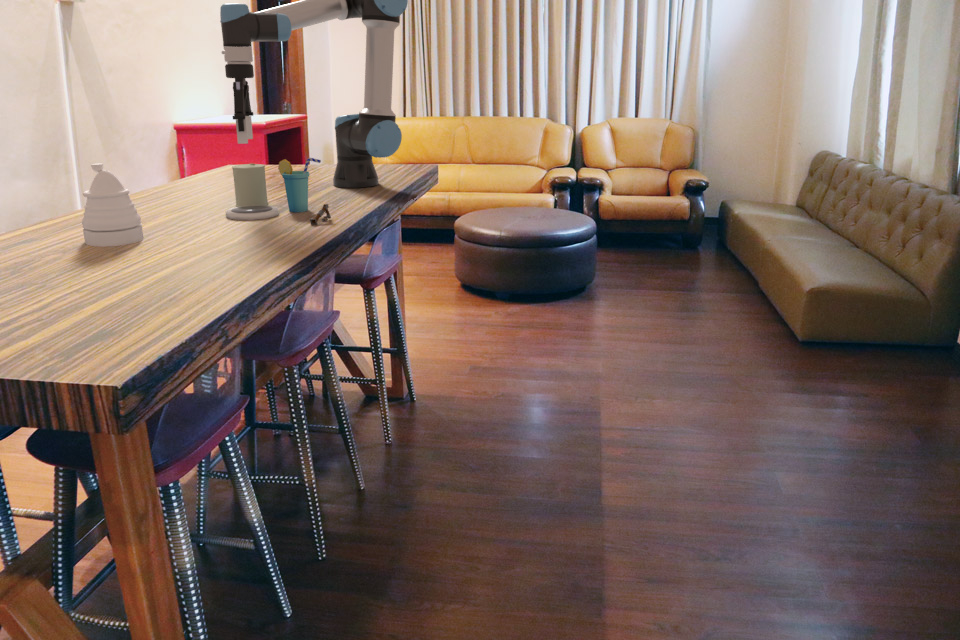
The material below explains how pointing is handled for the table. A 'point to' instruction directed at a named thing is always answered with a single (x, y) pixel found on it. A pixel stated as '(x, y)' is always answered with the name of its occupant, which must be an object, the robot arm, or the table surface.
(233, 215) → the white and grey plate
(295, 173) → the cup
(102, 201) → the honey pot
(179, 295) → the table surface
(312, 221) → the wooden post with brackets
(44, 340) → the table surface
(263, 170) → the can
